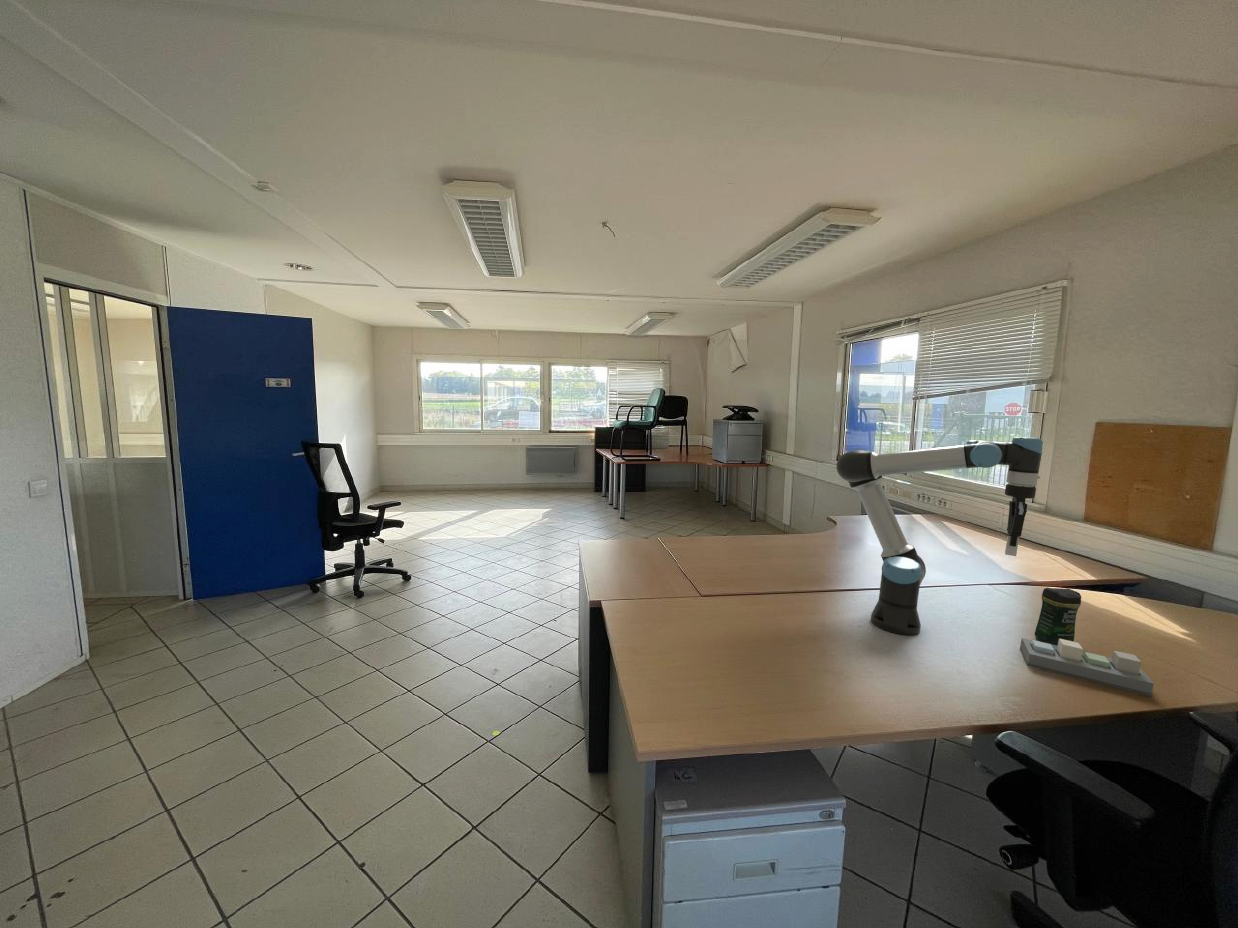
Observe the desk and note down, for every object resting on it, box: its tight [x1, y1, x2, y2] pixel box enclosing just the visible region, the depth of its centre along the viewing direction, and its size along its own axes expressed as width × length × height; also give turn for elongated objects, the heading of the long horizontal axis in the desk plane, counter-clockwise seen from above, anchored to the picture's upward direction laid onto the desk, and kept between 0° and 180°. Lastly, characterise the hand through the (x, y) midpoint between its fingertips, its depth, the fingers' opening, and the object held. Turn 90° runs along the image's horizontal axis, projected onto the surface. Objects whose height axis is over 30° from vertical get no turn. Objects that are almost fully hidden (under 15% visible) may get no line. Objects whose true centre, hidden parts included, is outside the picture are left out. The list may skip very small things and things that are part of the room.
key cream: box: [1057, 639, 1084, 661], centre depth 141 cm, size 4×4×4 cm
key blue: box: [1031, 639, 1054, 655], centre depth 144 cm, size 4×4×4 cm
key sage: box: [1083, 651, 1110, 668], centre depth 138 cm, size 4×4×4 cm
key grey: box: [1111, 650, 1142, 675], centre depth 134 cm, size 4×4×4 cm
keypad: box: [1019, 637, 1155, 698], centre depth 140 cm, size 26×12×4 cm, turn 58°
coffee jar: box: [1034, 587, 1082, 646], centre depth 157 cm, size 10×8×19 cm
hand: (1010, 554), depth 155 cm, fingers closed
